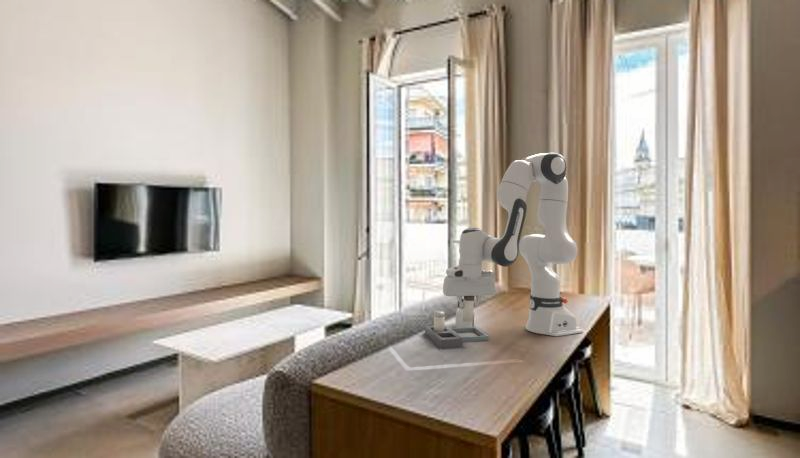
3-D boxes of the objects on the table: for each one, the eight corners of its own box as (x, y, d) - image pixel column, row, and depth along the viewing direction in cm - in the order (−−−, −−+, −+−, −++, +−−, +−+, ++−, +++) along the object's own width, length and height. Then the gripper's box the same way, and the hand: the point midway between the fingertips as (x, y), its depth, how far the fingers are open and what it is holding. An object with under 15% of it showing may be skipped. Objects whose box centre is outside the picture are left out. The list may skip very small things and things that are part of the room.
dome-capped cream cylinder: (441, 335, 185) (442, 310, 185) (445, 338, 181) (446, 313, 181) (432, 335, 184) (432, 311, 184) (435, 338, 180) (436, 313, 180)
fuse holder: (421, 335, 187) (421, 325, 187) (445, 334, 190) (445, 324, 190) (438, 352, 168) (439, 340, 168) (465, 350, 171) (466, 339, 170)
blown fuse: (470, 319, 187) (471, 294, 186) (475, 321, 183) (476, 296, 182) (461, 319, 186) (462, 294, 185) (465, 322, 182) (466, 296, 181)
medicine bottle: (472, 331, 195) (473, 301, 195) (455, 329, 197) (456, 300, 196) (473, 326, 202) (474, 298, 202) (456, 325, 204) (457, 297, 203)
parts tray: (474, 333, 192) (475, 327, 192) (488, 342, 181) (488, 335, 181) (448, 334, 189) (449, 328, 189) (460, 344, 178) (460, 337, 178)
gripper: (491, 269, 189) (490, 304, 190) (442, 270, 184) (440, 306, 184) (499, 272, 183) (497, 308, 184) (448, 272, 177) (446, 310, 178)
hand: (468, 307), depth 184 cm, fingers closed on blown fuse, 4 cm apart
